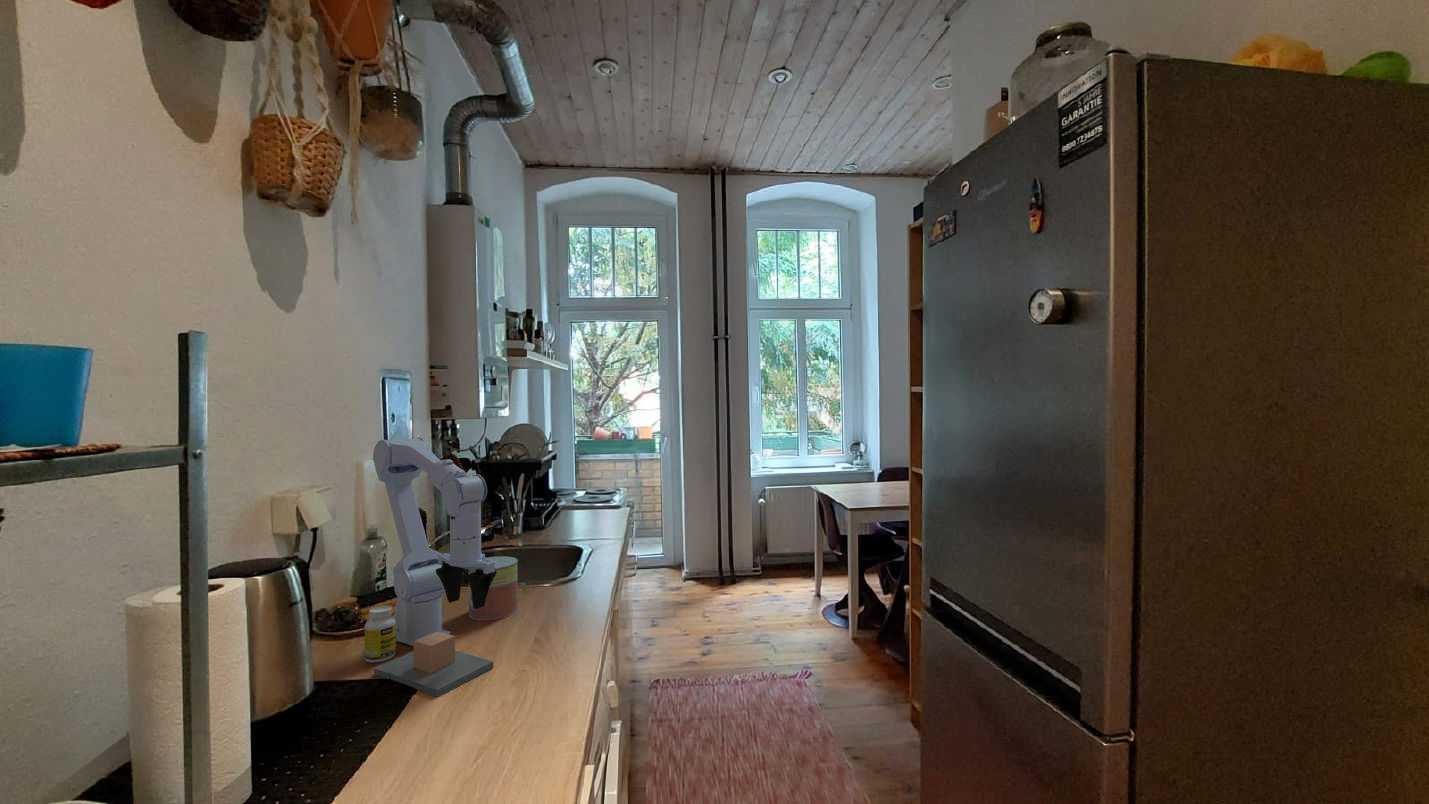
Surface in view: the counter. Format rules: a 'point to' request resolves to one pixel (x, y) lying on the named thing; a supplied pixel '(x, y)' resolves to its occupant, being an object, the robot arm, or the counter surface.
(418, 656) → the terracotta cube
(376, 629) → the supplement bottle
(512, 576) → the canned food
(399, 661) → the slate board
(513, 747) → the counter surface
